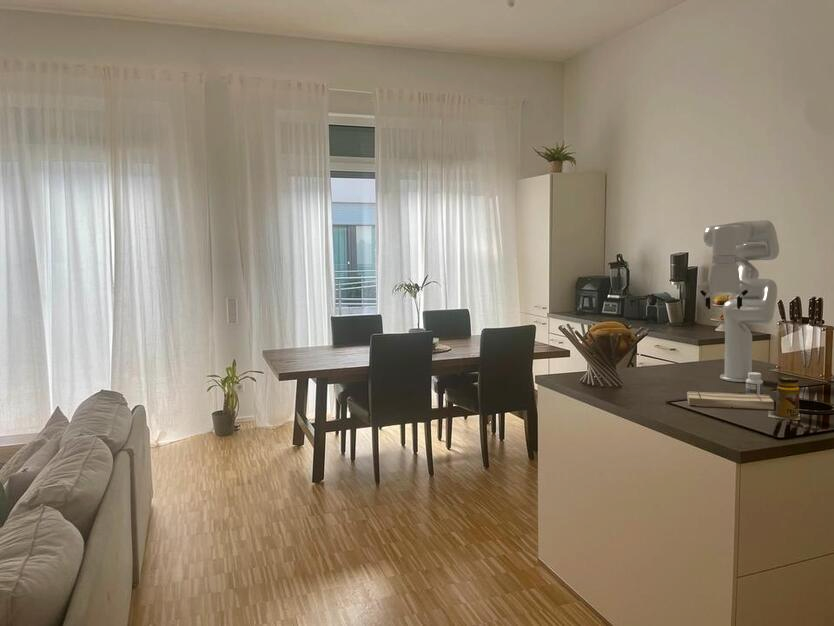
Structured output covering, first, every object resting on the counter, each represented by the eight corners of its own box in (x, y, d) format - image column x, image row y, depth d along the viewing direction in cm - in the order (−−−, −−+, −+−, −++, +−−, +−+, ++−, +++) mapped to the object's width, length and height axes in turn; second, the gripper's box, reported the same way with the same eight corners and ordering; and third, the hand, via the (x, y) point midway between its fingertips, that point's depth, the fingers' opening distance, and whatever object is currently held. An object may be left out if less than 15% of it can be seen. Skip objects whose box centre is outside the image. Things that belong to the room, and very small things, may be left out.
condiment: (800, 420, 189) (801, 381, 188) (768, 417, 193) (769, 379, 192) (799, 414, 195) (800, 376, 194) (768, 411, 200) (769, 374, 198)
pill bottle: (757, 396, 219) (757, 371, 219) (766, 400, 214) (766, 374, 213) (742, 397, 219) (742, 372, 218) (750, 400, 214) (751, 375, 213)
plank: (687, 398, 220) (687, 391, 219) (768, 402, 211) (768, 394, 211) (689, 405, 210) (689, 397, 210) (773, 409, 202) (774, 401, 202)
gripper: (749, 259, 224) (748, 307, 226) (696, 261, 230) (696, 307, 232) (753, 260, 217) (752, 309, 219) (698, 261, 223) (697, 309, 225)
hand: (723, 308), depth 225 cm, fingers open, 9 cm apart
